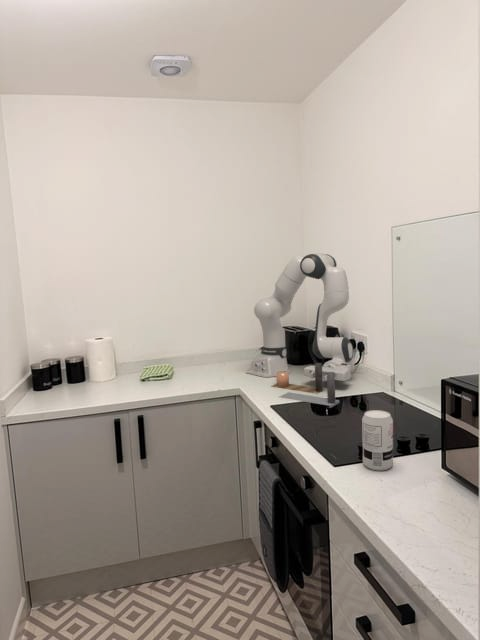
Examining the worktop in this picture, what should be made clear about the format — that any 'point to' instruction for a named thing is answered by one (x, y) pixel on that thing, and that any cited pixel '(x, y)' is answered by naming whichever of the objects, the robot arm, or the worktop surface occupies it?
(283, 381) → the tan rounded blob
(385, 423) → the supplement can
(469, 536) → the worktop surface
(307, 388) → the walnut strip
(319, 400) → the slate-grey strip
